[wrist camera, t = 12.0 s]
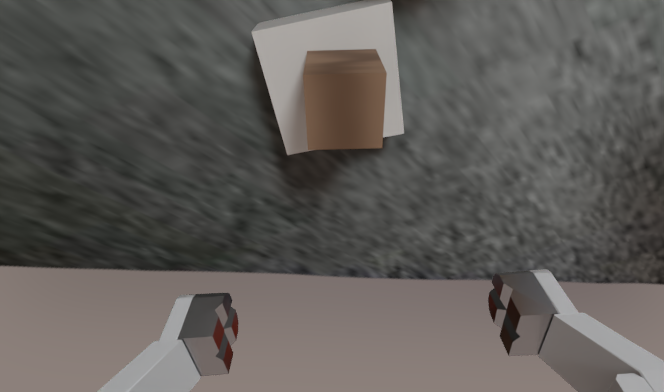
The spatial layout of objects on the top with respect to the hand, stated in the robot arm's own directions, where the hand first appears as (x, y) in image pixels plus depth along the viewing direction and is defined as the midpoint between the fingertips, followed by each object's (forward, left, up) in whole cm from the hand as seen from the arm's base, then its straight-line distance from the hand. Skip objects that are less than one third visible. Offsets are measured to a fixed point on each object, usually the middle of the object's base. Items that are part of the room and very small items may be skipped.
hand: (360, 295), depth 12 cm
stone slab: (0, 0, -25) cm, 25 cm away
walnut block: (0, 0, -21) cm, 21 cm away
